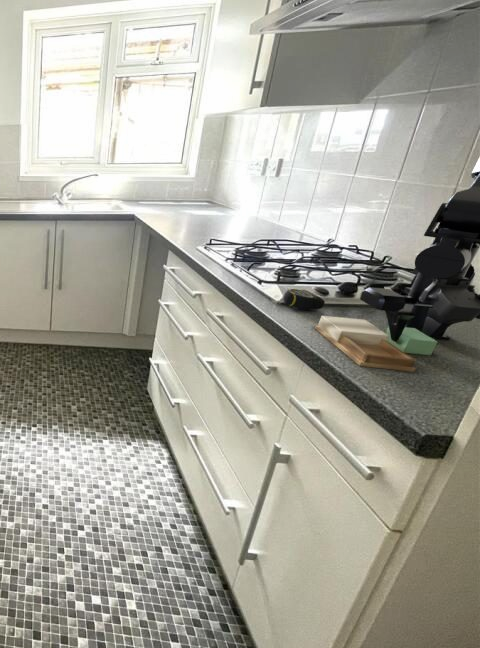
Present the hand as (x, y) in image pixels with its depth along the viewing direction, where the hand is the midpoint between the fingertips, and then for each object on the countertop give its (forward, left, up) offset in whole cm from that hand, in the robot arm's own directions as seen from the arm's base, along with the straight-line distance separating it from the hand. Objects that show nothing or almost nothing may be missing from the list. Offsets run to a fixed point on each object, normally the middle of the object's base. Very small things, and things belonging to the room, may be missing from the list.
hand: (407, 342), depth 83 cm
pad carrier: (+3, -9, -1) cm, 10 cm away
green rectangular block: (0, 0, -1) cm, 1 cm away
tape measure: (-18, -11, -1) cm, 21 cm away
